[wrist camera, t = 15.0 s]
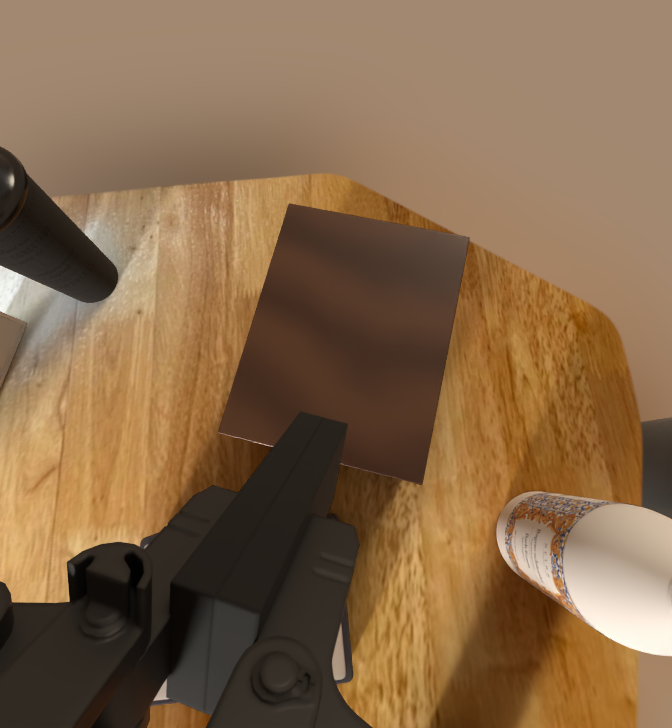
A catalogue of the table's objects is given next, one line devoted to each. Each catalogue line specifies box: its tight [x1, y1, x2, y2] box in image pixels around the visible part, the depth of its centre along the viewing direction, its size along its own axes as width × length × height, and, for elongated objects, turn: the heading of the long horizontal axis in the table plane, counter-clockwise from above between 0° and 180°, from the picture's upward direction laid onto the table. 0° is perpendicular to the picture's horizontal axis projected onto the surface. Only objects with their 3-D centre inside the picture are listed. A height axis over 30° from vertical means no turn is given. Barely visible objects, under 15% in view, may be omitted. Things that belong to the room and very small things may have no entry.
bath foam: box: [496, 491, 672, 656], centre depth 23 cm, size 7×7×20 cm
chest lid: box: [218, 204, 469, 485], centre depth 27 cm, size 17×13×1 cm
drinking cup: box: [0, 147, 118, 303], centre depth 31 cm, size 8×8×20 cm
